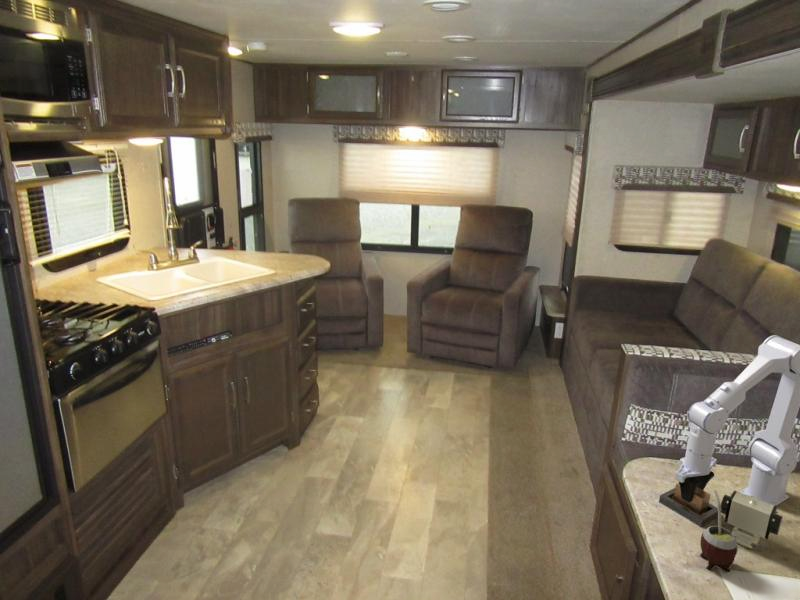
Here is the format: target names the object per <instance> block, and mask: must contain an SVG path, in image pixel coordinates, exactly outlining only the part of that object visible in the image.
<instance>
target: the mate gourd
mask: <svg viewBox="0 0 800 600" xmlns="http://www.w3.org/2000/svg"><path fill="white" fill-rule="evenodd" d="M717 492H718V491H717V490H714V491H713V493H714V496H715V499H716V503H717V506H716V507H717V510H718V517H717V519H718V520H717V525H713V526H712V525H711V526H708V527H707V528H706V529H704V530H703V531H702V534H701V535H700V536H701V537H700V543H699V544H700V550H701V553H700V554H699V555H700V558H702V559H704V560H705V561H707V564H708V565H707V566H706V567H705V569H706V570H707V571H711V570H713V568H715V567H717V568H719V569H721V570H722V571H724V572H726V573H727V572H729V573H730V571H731V569H730V567H731V566H732V564H733V563H734V561H735V559H736V555H737V553H738V543H737V541H736V538H735V537H734V535H733V534H732V531H730V530H728V529H726V528H725V527H722V513H721V501H720V497H719V495H718V493H717Z"/></svg>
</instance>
